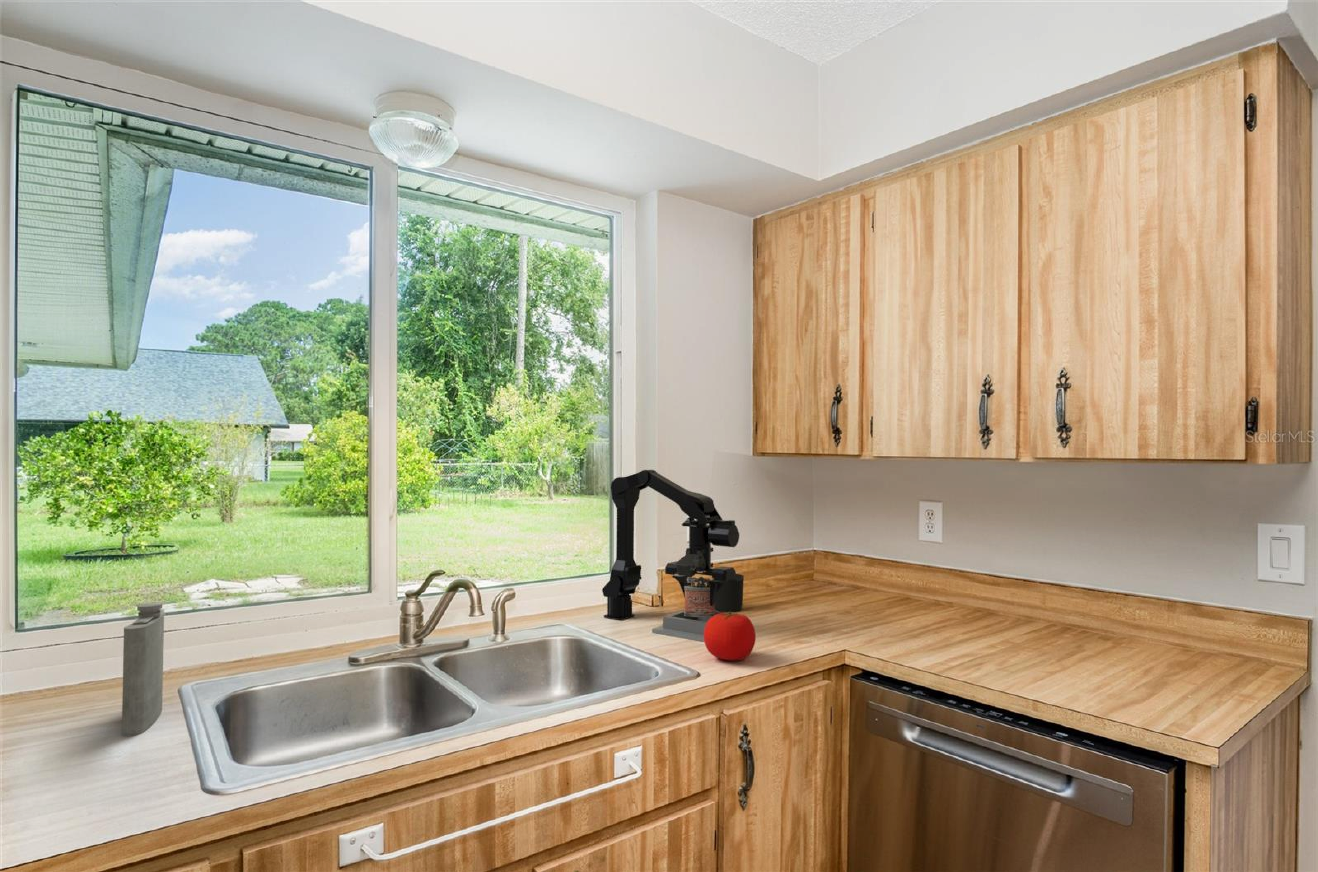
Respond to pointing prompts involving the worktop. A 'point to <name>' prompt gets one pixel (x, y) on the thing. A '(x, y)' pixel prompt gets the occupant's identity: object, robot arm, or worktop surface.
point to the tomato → (729, 636)
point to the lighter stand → (683, 626)
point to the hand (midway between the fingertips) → (699, 603)
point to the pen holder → (730, 595)
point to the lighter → (698, 598)
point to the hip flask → (143, 670)
